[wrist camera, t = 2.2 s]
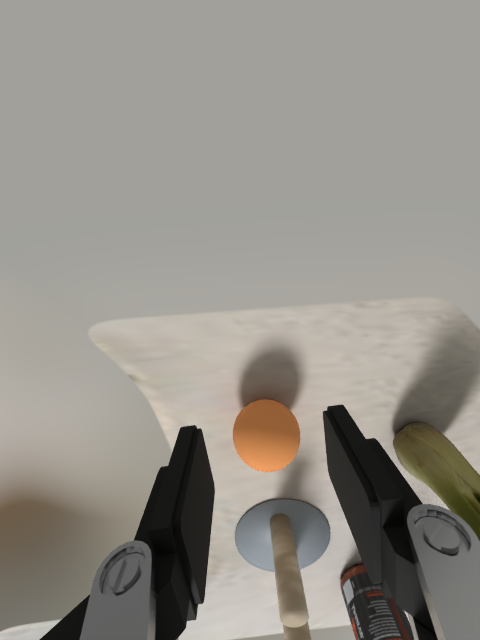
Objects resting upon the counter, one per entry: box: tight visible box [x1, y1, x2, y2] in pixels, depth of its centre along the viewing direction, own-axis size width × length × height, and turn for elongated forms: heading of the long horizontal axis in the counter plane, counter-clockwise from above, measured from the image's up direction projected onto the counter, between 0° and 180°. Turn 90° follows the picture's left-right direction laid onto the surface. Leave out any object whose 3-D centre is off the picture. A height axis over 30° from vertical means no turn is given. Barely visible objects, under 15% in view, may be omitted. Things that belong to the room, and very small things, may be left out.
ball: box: [233, 399, 300, 472], centre depth 25 cm, size 6×6×6 cm
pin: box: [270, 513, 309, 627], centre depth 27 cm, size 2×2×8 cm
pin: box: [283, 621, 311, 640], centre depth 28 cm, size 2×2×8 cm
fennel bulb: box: [393, 422, 480, 541], centre depth 23 cm, size 6×5×12 cm
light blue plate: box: [235, 499, 330, 572], centre depth 32 cm, size 11×11×1 cm
